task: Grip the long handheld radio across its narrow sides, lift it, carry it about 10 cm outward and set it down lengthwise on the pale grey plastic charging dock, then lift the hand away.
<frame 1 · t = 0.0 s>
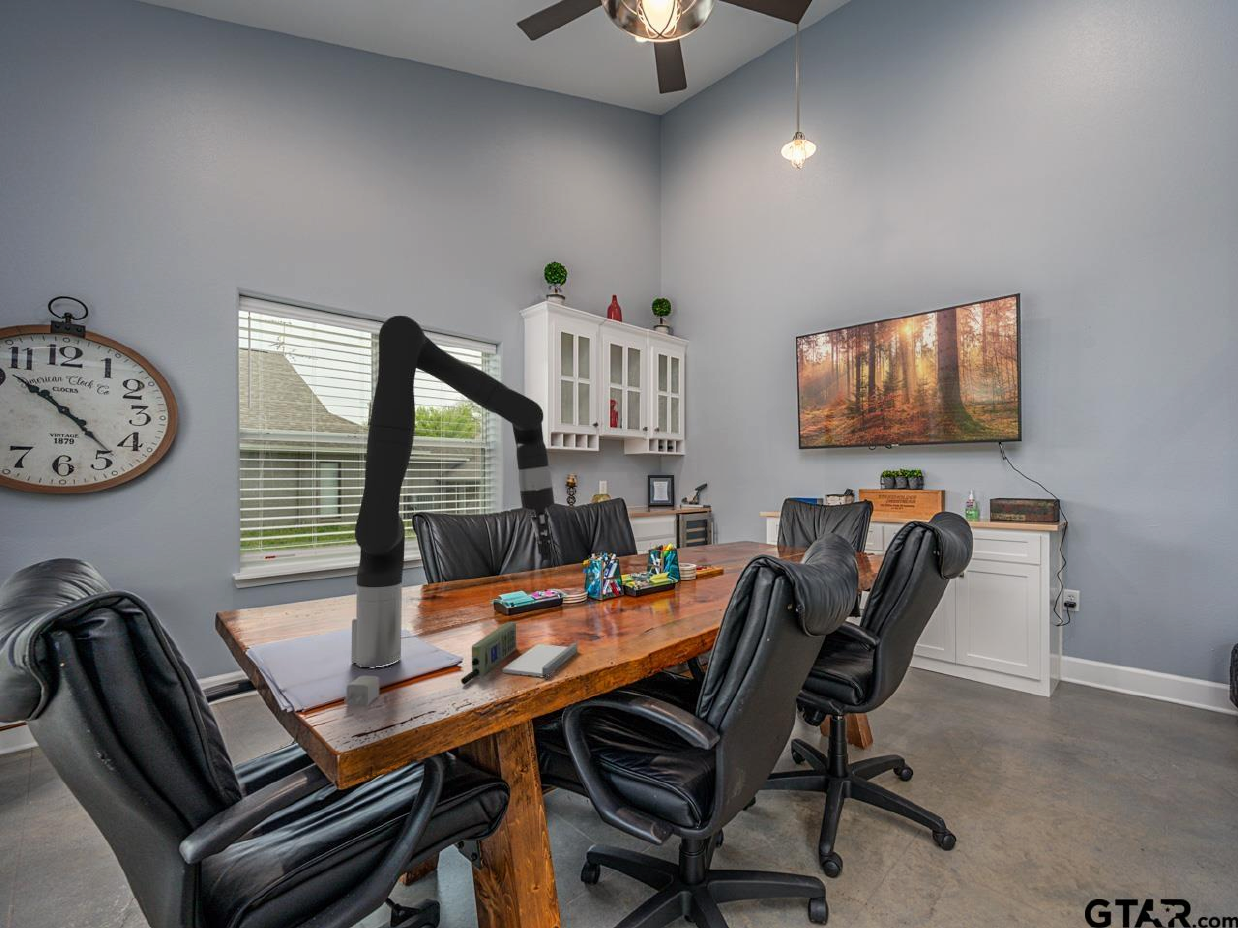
hand: (544, 556, 136), 22 cm above the table, tool pointing down, fingers open, 8 cm apart
charging dock: (542, 661, 130), on the table
usb wall charger: (359, 705, 106), on the table
handheld radio: (490, 667, 127), on the table
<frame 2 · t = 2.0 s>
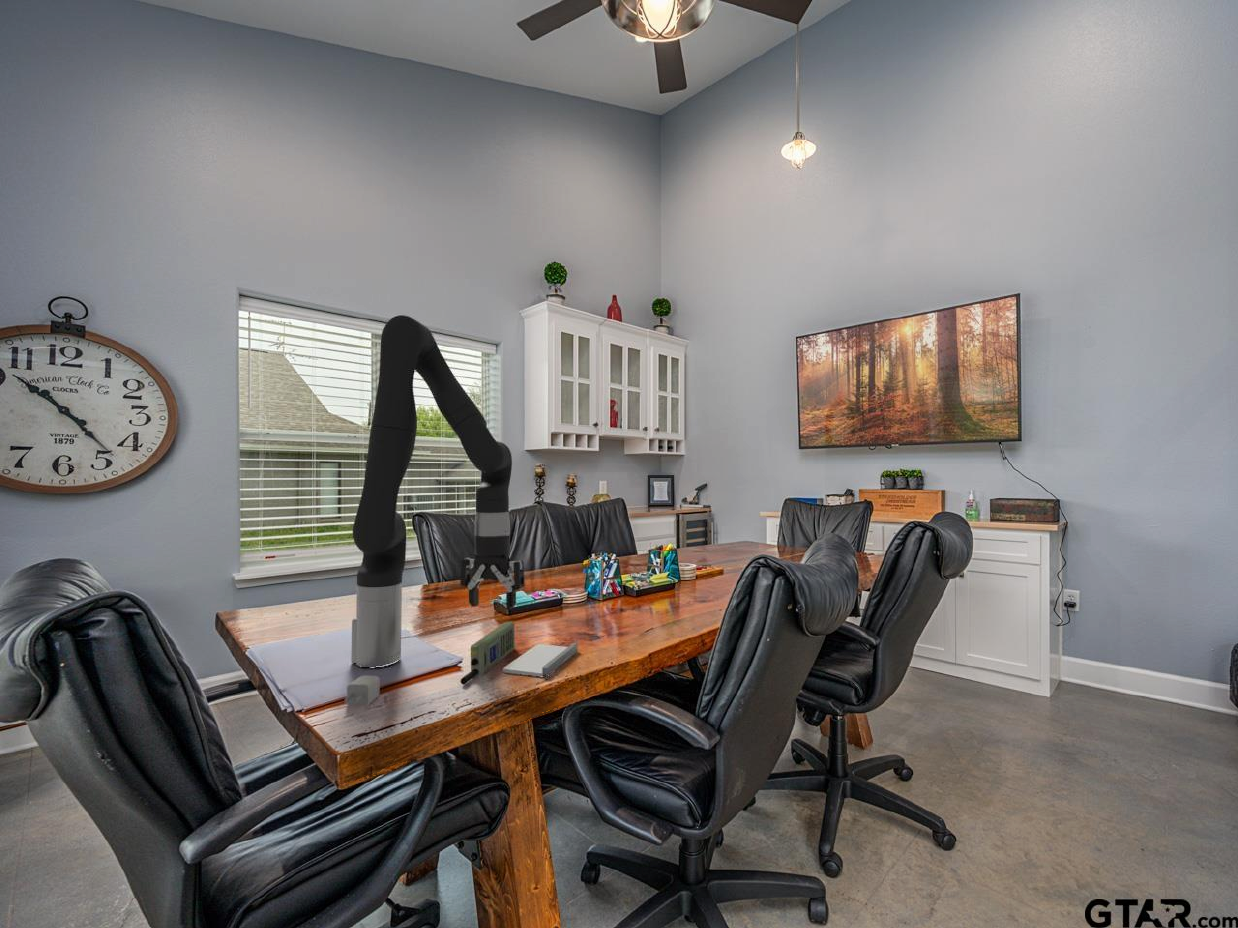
hand: (492, 607, 127), 13 cm above the table, tool pointing down, fingers open, 8 cm apart
nothing on the table moved.
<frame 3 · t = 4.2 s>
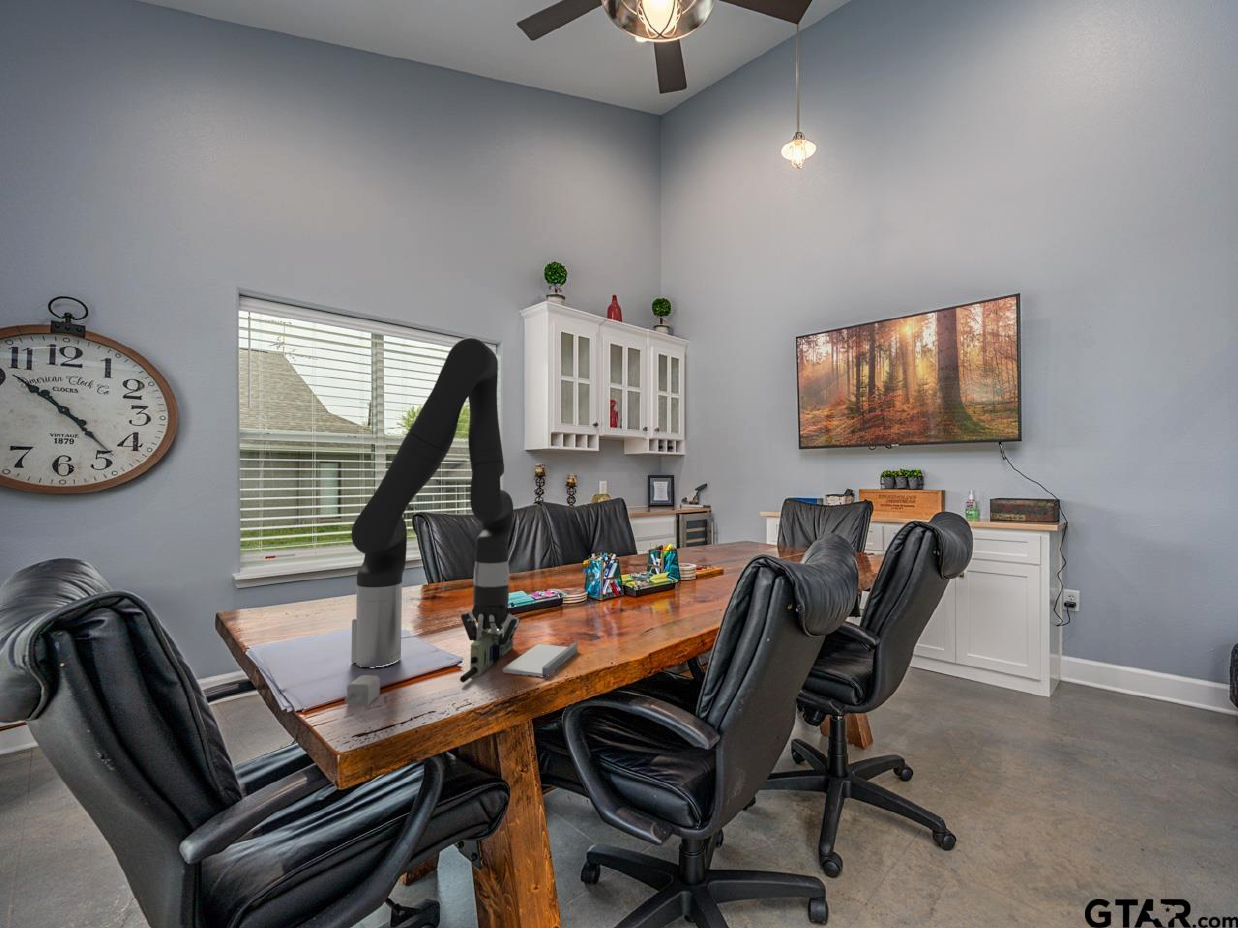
hand: (489, 660, 127), 1 cm above the table, tool pointing down, fingers closed on handheld radio, 2 cm apart
handheld radio: (487, 665, 127), on the table, touching gripper
everything else where it was.
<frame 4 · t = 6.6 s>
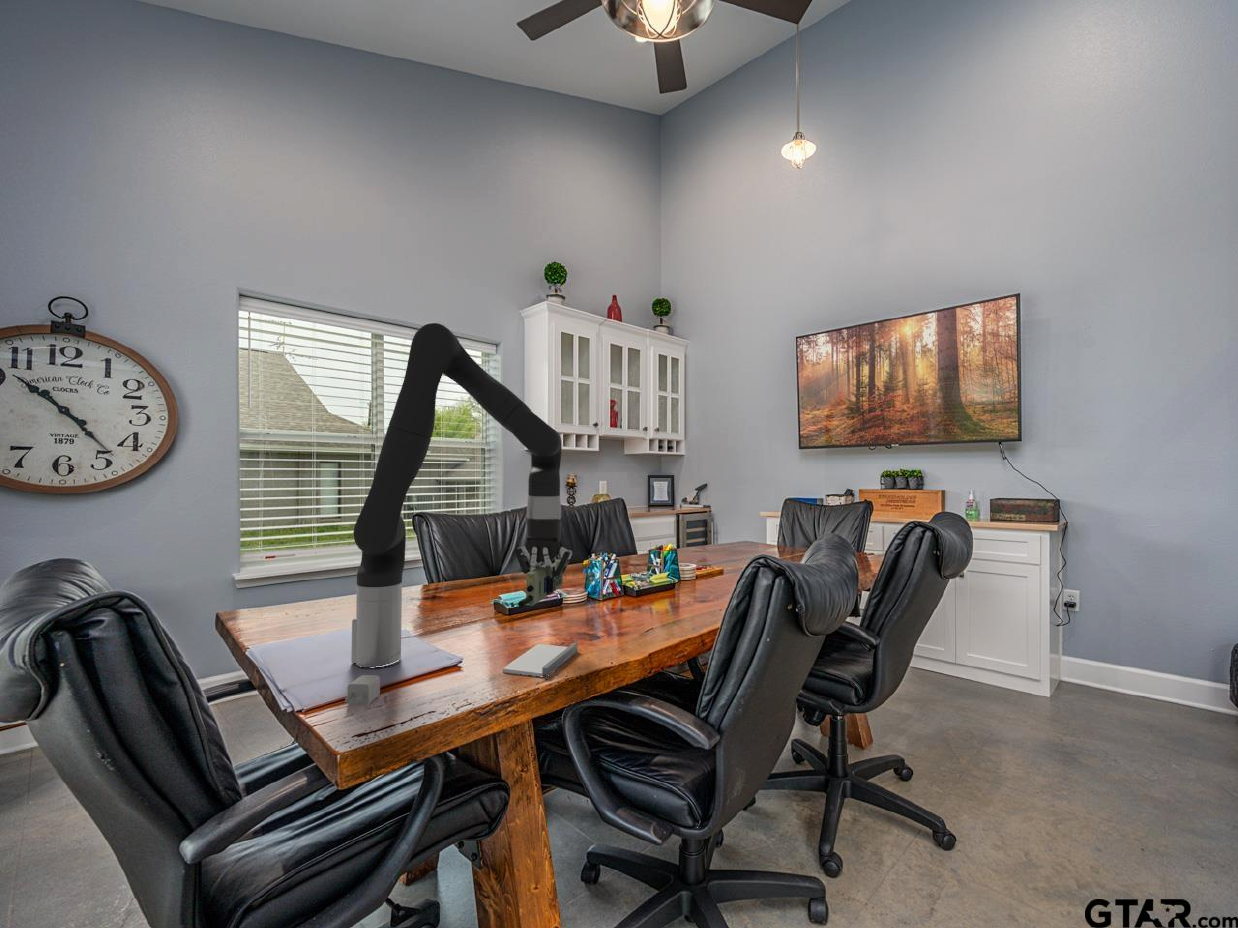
hand: (543, 593, 130), 15 cm above the table, tool pointing down, fingers closed on handheld radio, 2 cm apart
handheld radio: (540, 598, 130), point 14 cm above the table, touching gripper
everything else where it was.
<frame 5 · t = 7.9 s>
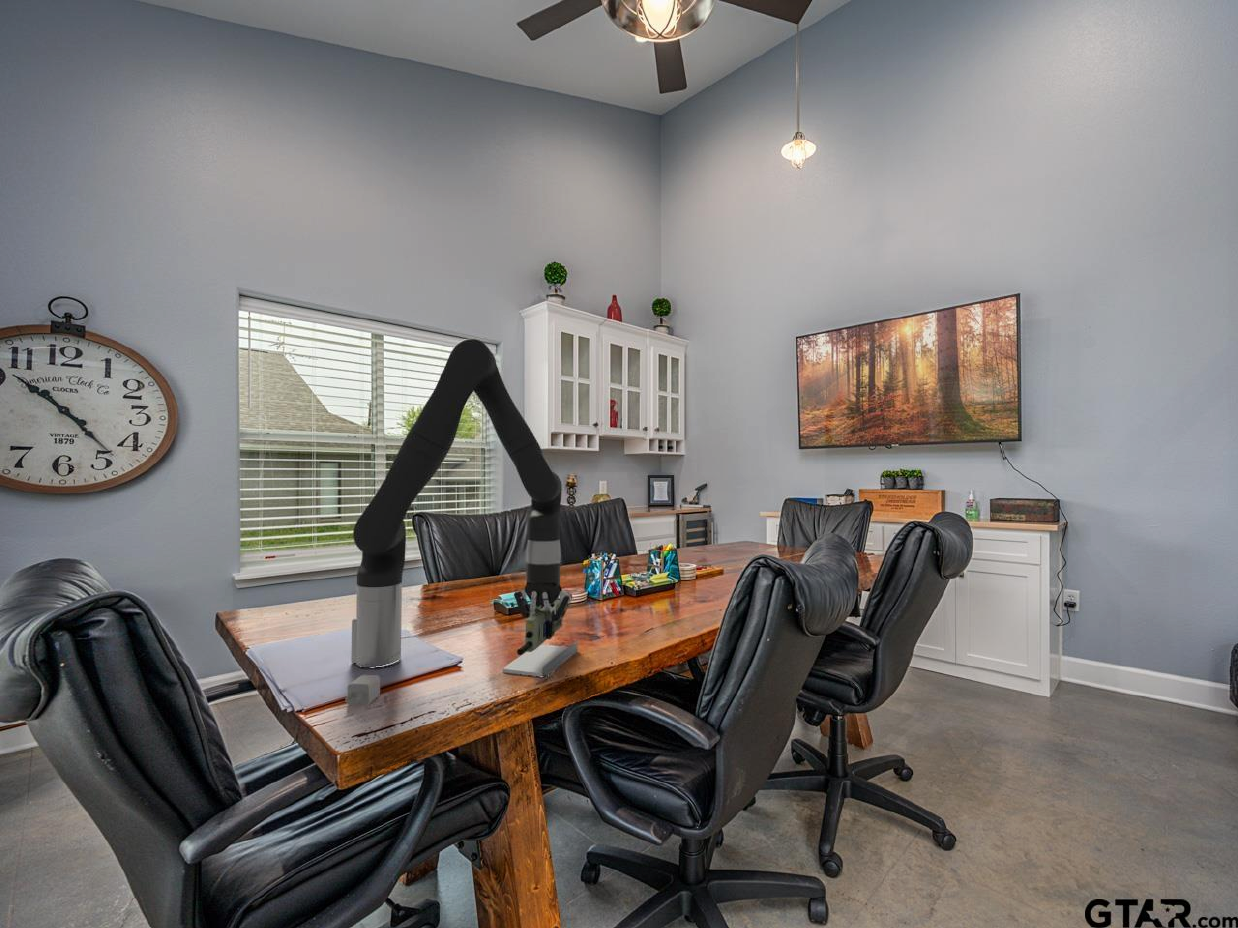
hand: (542, 637, 130), 5 cm above the table, tool pointing down, fingers closed on handheld radio, 2 cm apart
handheld radio: (540, 641, 130), point 4 cm above the table, touching gripper
everything else where it was.
when the fingers open (3 cm above the table, at t = 8.9 s): handheld radio drops 2 cm, resting on charging dock.
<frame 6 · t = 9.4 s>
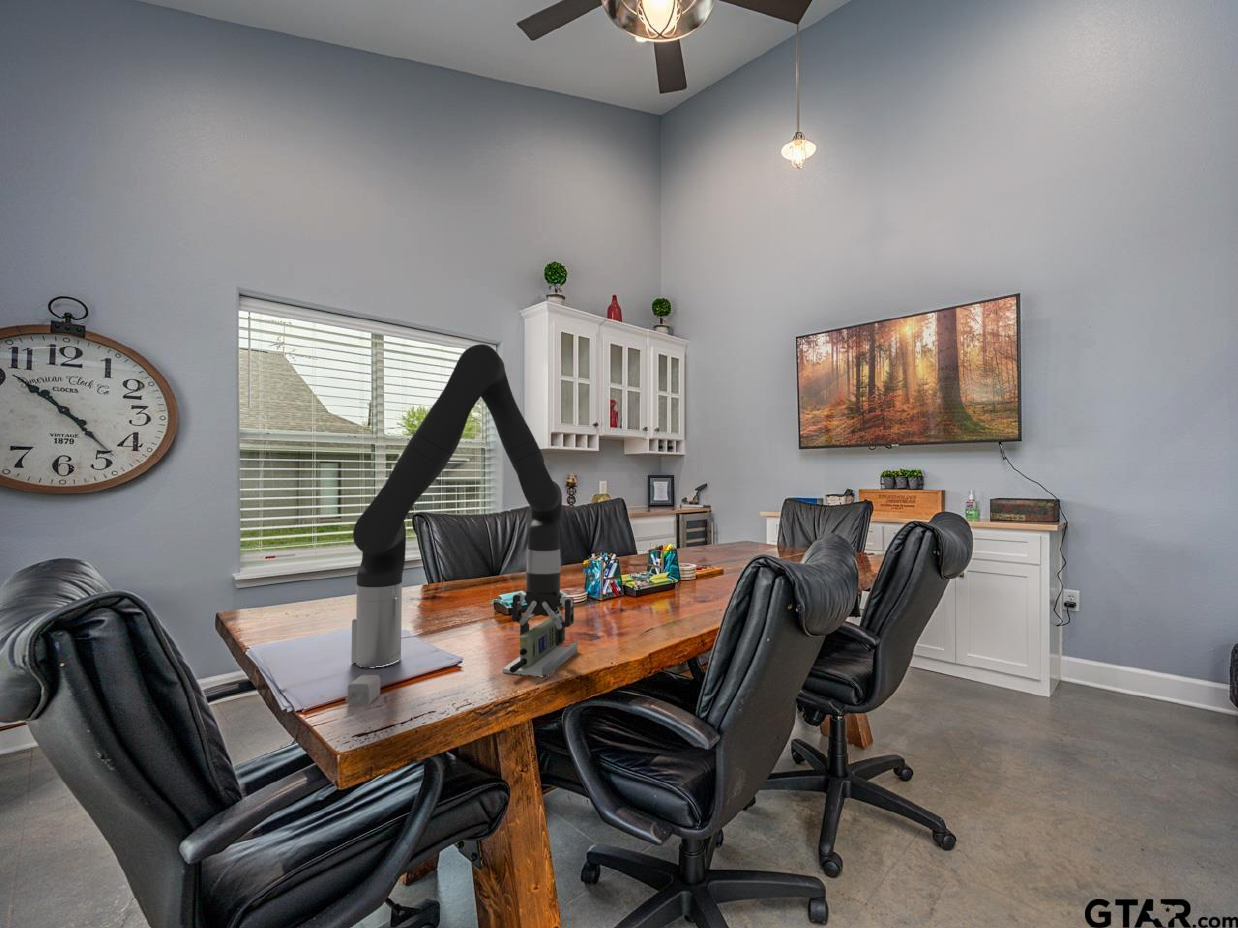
hand: (542, 642, 130), 4 cm above the table, tool pointing down, fingers open, 7 cm apart
handheld radio: (537, 658, 131), point 1 cm above the table, touching charging dock
everything else where it was.
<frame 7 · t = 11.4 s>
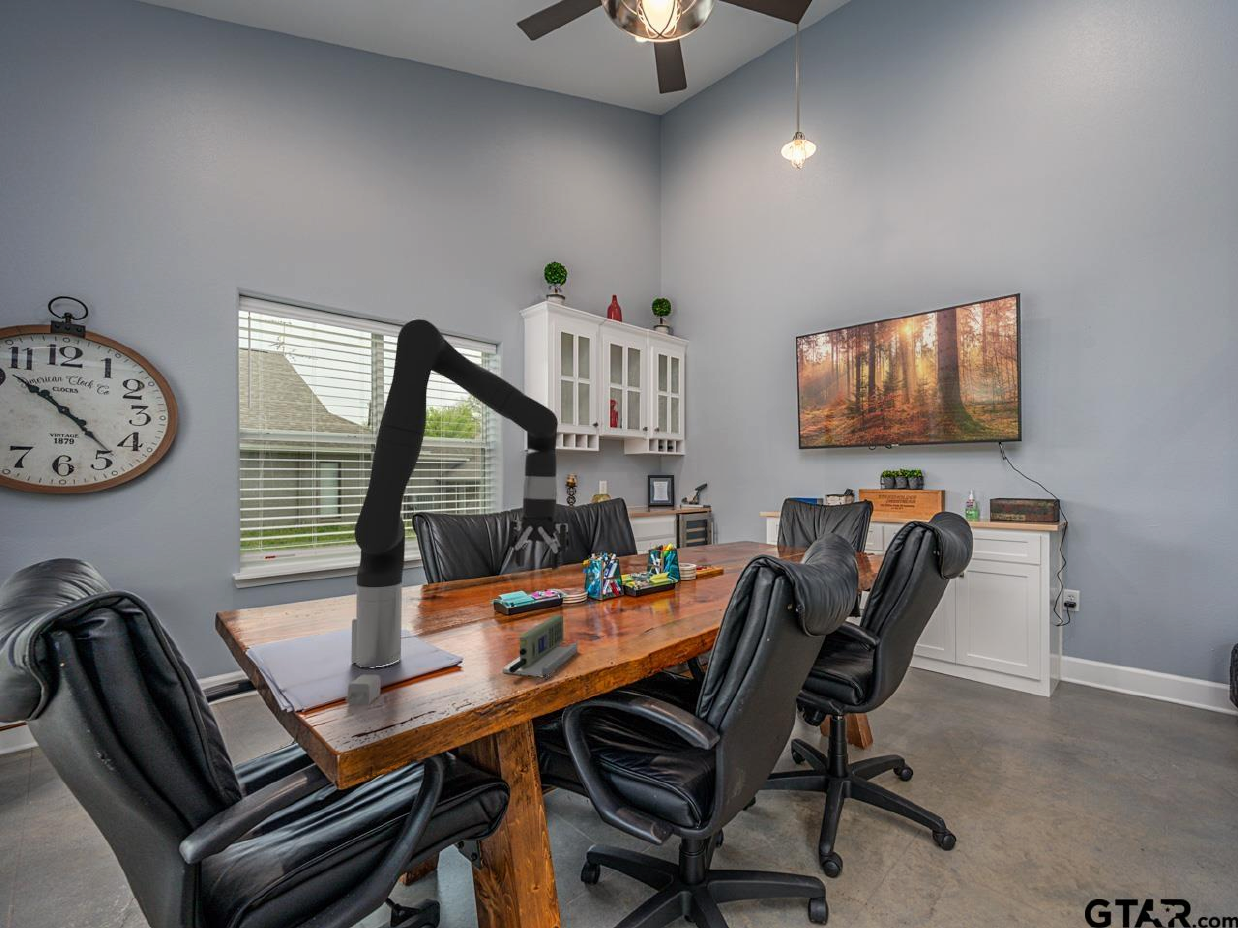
hand: (537, 567, 133), 20 cm above the table, tool pointing down, fingers open, 8 cm apart
nothing on the table moved.
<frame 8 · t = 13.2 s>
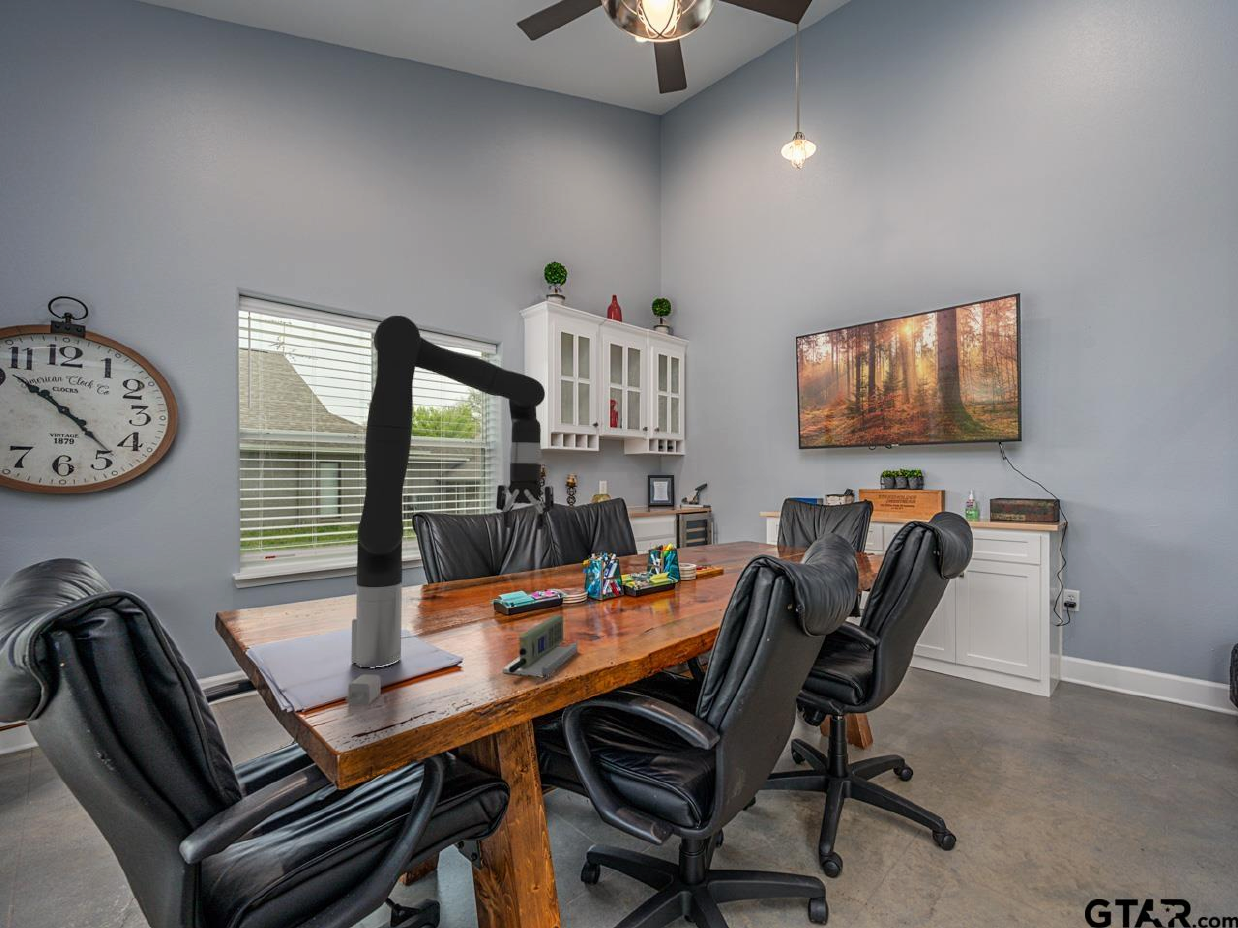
hand: (524, 528, 143), 28 cm above the table, tool pointing down, fingers open, 8 cm apart
nothing on the table moved.
at the end: handheld radio inside the target area on the charging dock (1.2 cm from its centre), point 0.6 cm above the charging dock's base; handheld radio tilted 0°; the gripper is holding nothing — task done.
